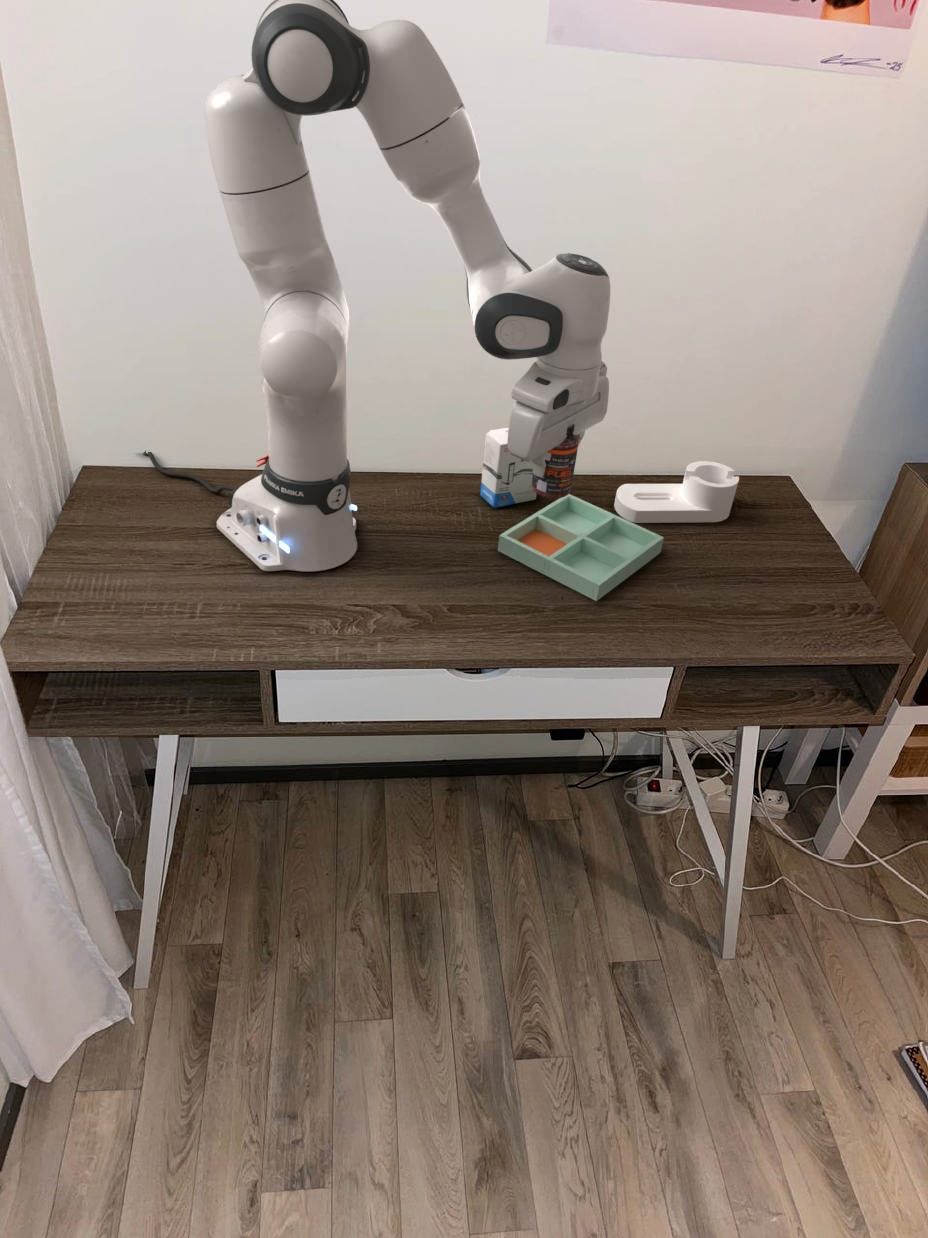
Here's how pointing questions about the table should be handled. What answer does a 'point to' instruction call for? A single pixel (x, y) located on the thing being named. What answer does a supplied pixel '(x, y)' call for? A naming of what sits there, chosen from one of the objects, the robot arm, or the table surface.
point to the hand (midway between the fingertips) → (554, 465)
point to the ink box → (504, 473)
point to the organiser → (580, 545)
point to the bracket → (681, 497)
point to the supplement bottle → (558, 469)
